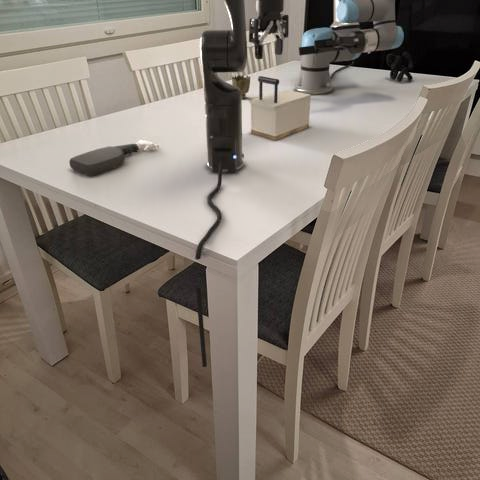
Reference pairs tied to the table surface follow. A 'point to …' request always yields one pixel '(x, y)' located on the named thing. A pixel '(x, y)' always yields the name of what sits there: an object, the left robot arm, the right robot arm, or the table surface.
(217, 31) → the left robot arm
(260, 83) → the lid
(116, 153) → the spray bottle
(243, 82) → the mottled brown jagged dome
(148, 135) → the table surface
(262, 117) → the cream rectangular box
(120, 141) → the table surface
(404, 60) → the squiggle
